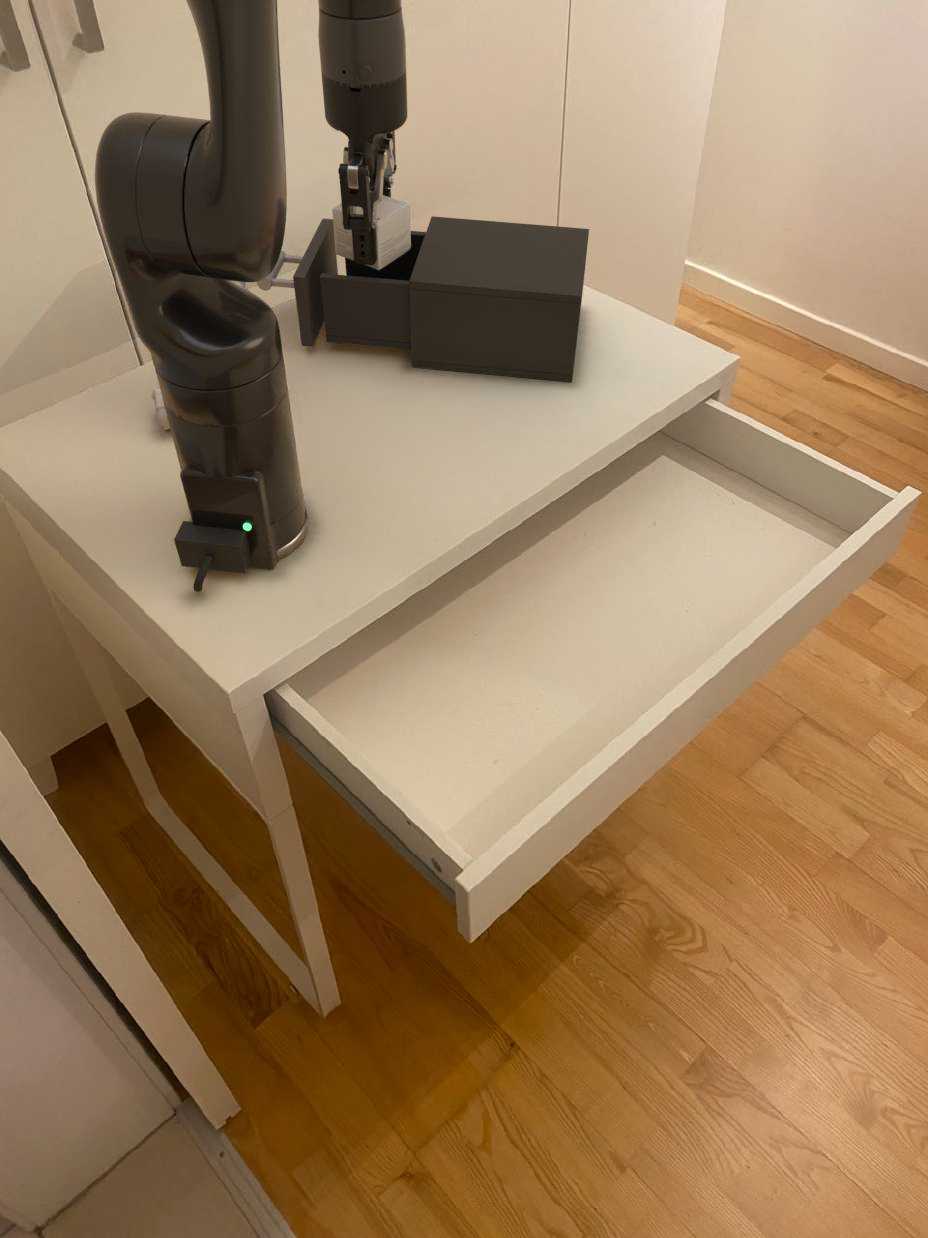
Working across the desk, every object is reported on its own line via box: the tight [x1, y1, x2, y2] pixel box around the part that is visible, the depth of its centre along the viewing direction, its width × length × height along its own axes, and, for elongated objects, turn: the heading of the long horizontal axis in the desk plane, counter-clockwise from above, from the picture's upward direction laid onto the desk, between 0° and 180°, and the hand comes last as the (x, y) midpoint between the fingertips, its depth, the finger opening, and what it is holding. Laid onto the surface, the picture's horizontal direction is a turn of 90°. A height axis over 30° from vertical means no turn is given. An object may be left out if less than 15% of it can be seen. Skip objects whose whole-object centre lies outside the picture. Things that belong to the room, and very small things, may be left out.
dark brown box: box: [409, 215, 590, 383], centre depth 99 cm, size 17×14×10 cm
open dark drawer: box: [256, 218, 426, 351], centre depth 100 cm, size 20×12×8 cm, turn 82°
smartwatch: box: [151, 387, 171, 431], centre depth 90 cm, size 4×2×4 cm, turn 16°
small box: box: [331, 191, 412, 270], centre depth 96 cm, size 6×6×5 cm
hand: (373, 243), depth 97 cm, fingers closed on small box, 7 cm apart
